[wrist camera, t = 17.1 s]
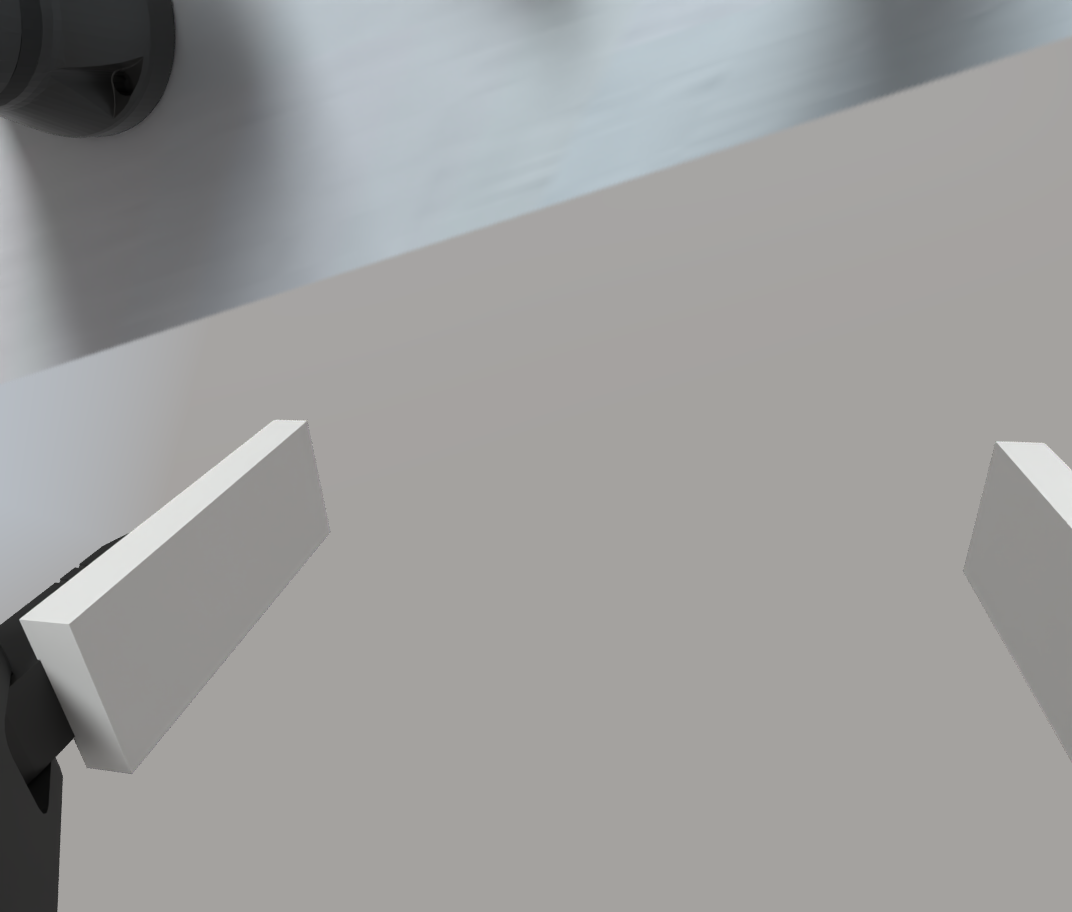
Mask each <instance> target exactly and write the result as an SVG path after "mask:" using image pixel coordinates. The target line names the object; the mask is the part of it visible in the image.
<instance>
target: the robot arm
mask: <svg viewBox="0 0 1072 912" xmlns="http://www.w3.org/2000/svg"><path fill="white" fill-rule="evenodd" d="M174 40H175V35H174V19H173V11H172V5H171V0H0V117H3V118H6V119H9V120H12V121H15V122H17V123H20V124H23V125H26V126H29V127H31V128H34V129H37V130H40V131H43V132H46V133H50V134H53V135H59V136H65V137H96V136H107V135H113V134H117V133H120V132H123V131H125V130H128V129H130V128H132V127H133V126H135V125H136V124H138V123H139V122H141V121H142V120H143V119H144V118H145V117H146V116H147V115H148V114H149V113H150V112H151V111H152V110H153V108H154V107H155V106H156V104H157V103H158V101H159V100H160V98H161V96H162V94H163V92H164V90H165V87H166V85H167V82H168V79H169V76H170V72H171V68H172V62H173V55H174ZM329 533H330V528H329V523H328V518H327V513H326V508H325V504H324V500H323V494H322V489H321V485H320V480H319V475H318V470H317V466H316V461H315V456H314V451H313V446H312V441H311V436H310V432H309V427H308V422H307V421H300V420H297V421H296V420H273V421H272V422H271V423H269V424H268V425H267V426H265V427H264V428H263V429H262V430H260V431H259V432H258V433H256V434H255V435H254V436H253V437H251V438H250V439H249V440H248V441H246V442H245V443H244V444H242V445H241V446H240V447H239V448H237V449H236V450H235V451H234V452H232V453H231V454H230V455H229V456H227V457H226V458H225V459H223V460H222V461H221V462H219V463H218V464H217V465H216V466H215V467H213V468H212V469H211V470H209V471H208V472H207V473H205V474H204V475H203V476H202V477H200V478H199V479H198V480H197V481H195V482H194V483H193V484H191V485H190V486H189V487H188V488H186V489H185V490H184V491H183V492H181V493H180V494H179V495H177V496H176V497H175V498H174V499H172V500H171V501H170V502H168V503H167V504H166V505H165V506H163V507H162V508H161V509H159V510H158V511H157V512H156V513H155V514H153V515H152V516H151V517H149V518H148V519H147V520H145V521H144V522H143V523H142V524H140V525H139V526H138V527H137V528H135V529H134V530H133V531H131V532H130V533H128V534H126V535H124V536H122V537H120V538H118V539H116V540H114V541H112V542H110V543H108V544H106V545H104V546H102V547H101V548H100V549H99V550H97V551H96V552H94V553H93V554H92V555H91V556H89V557H88V558H87V559H85V560H84V561H83V562H82V563H80V566H79V568H74V569H72V570H71V571H70V572H69V573H67V574H66V575H65V576H64V577H62V578H61V579H60V583H54V584H53V585H52V586H50V587H49V588H48V589H46V590H45V591H44V592H43V593H41V594H40V595H39V596H37V597H36V598H35V599H34V600H32V601H31V602H30V603H28V604H27V605H26V606H24V607H23V608H22V609H21V610H19V611H18V612H17V613H15V614H14V615H13V616H11V617H10V618H9V619H7V620H6V621H5V622H4V623H2V624H1V625H0V912H57V906H58V881H59V857H60V832H61V807H62V781H63V775H62V772H61V769H60V766H59V764H58V762H57V760H56V758H55V757H56V756H57V755H58V754H59V753H60V752H61V751H62V750H63V749H64V748H65V747H66V746H67V745H68V744H69V742H70V741H71V740H72V739H73V738H74V740H75V743H76V744H77V747H78V749H79V751H80V753H81V756H82V758H83V760H84V762H85V764H86V767H87V768H93V769H100V770H107V771H114V772H122V773H129V774H132V773H133V772H134V771H135V770H136V768H137V767H138V766H139V765H140V764H141V762H142V761H143V760H144V759H145V757H146V756H147V755H148V754H149V753H150V751H151V750H152V749H153V748H154V747H155V745H156V744H157V743H158V742H159V741H160V739H161V738H162V737H163V736H164V734H165V733H166V732H167V731H168V729H169V728H170V727H171V726H172V725H173V723H174V722H175V721H176V720H177V719H178V717H179V716H180V715H181V714H182V713H183V711H184V710H185V709H186V708H187V706H188V705H189V704H190V703H191V702H192V700H193V699H194V698H195V697H196V695H197V694H198V693H199V692H200V691H201V689H202V688H203V687H204V686H205V684H206V683H207V682H208V681H209V680H210V678H211V677H212V676H213V675H214V674H215V672H216V671H217V670H218V669H219V667H220V666H221V665H222V664H223V663H224V661H225V660H226V659H227V658H228V656H229V655H230V654H231V653H232V652H233V650H234V649H235V648H236V646H237V645H238V644H239V643H240V642H241V641H242V639H243V638H244V637H245V636H246V634H247V633H248V632H249V631H250V630H251V628H252V627H253V626H254V625H255V624H256V622H257V621H258V620H259V619H260V618H261V616H262V615H263V613H265V611H266V610H267V609H268V608H269V607H270V605H271V604H272V603H273V602H274V600H275V599H276V598H277V597H278V596H279V594H280V593H281V592H282V591H283V589H284V588H285V587H286V586H287V585H288V583H289V582H290V581H291V580H292V579H293V577H294V576H295V575H296V574H297V572H298V571H299V570H300V569H301V568H302V566H303V565H304V564H305V563H306V561H307V560H308V559H309V558H310V557H311V555H312V554H313V553H314V552H315V550H316V549H317V548H318V547H319V546H320V544H321V543H322V542H323V541H324V539H325V538H326V537H327V536H328V535H329ZM963 572H964V574H965V576H966V577H967V579H968V581H969V582H970V584H971V586H972V588H973V589H974V591H975V593H976V595H977V597H978V598H979V600H980V602H981V604H982V605H983V607H984V609H985V611H986V613H987V614H988V616H989V618H990V619H991V621H992V623H993V625H994V626H995V628H996V630H997V632H998V634H999V635H1000V637H1001V639H1002V641H1003V642H1004V644H1005V646H1006V648H1007V649H1008V651H1009V653H1010V655H1011V656H1012V658H1013V660H1014V662H1015V663H1016V665H1017V667H1018V669H1019V670H1020V672H1021V674H1022V676H1023V678H1024V679H1025V681H1026V683H1027V684H1028V686H1029V688H1030V690H1031V692H1032V693H1033V695H1034V697H1035V699H1036V700H1037V702H1038V704H1039V706H1040V707H1041V709H1042V711H1043V713H1044V714H1045V716H1046V718H1047V719H1048V721H1049V723H1050V725H1051V727H1052V728H1053V730H1054V732H1055V734H1056V736H1057V737H1058V739H1059V741H1060V743H1061V744H1062V746H1063V748H1064V750H1065V751H1066V753H1067V755H1068V757H1069V758H1070V760H1071V762H1072V470H1071V469H1070V468H1069V467H1068V466H1067V465H1066V464H1065V463H1064V462H1063V461H1062V460H1061V459H1060V458H1059V457H1058V456H1057V455H1056V454H1055V453H1054V452H1053V451H1052V450H1051V449H1050V448H1049V447H1048V446H1047V445H1046V444H1045V443H1032V442H1031V443H1030V442H999V441H997V442H995V446H994V450H993V454H992V458H991V462H990V466H989V470H988V474H987V478H986V482H985V486H984V490H983V494H982V498H981V502H980V506H979V510H978V514H977V518H976V522H975V526H974V530H973V534H972V538H971V542H970V546H969V550H968V554H967V558H966V562H965V566H964V570H963Z"/></svg>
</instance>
